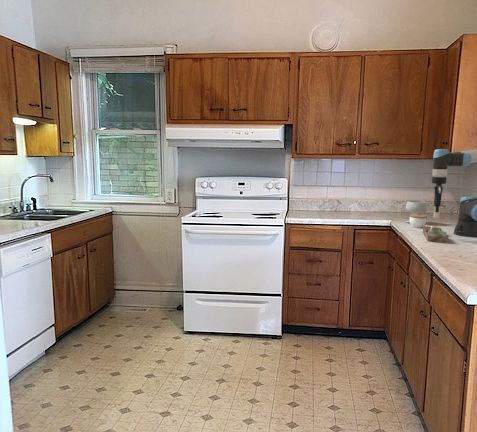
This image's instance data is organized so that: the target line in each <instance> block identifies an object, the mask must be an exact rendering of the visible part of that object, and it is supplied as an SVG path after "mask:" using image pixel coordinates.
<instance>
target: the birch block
mask: <svg viewBox="0 0 477 432" xmlns="http://www.w3.org/2000/svg"><path fill="white" fill-rule="evenodd" d="M430 228H431V231H440V229H441V230H442V228H441V226H437V225H430Z"/></svg>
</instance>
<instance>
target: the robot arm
mask: <svg viewBox="0 0 477 432" xmlns="http://www.w3.org/2000/svg"><path fill="white" fill-rule="evenodd" d="M433 151H434V152H433V157H432V159H433V161H432V170H431V173H432V177H431V183H432V184H434V185H435V186H434V187H433V190H434V200H433V207H434V208H433V219H434V218H435V219H436V218H438V219H439V218H440V210H441V209H440V208H441V203H442V197H443V196H442V195H443V189H444V188H443V185H445V184H447V179H448V178H447V177H448V167H469V166H470V165H471V164H472V163H473V164H474V163H477V149H471V150H470V149H469V150H462V151H454V152H453V151H452V152H450V151H449V149H444V148H443V149H442V148H440V149H439V148H438V149H434V150H433ZM453 234H454V235H458V236H460V237H461V236H462V237H469V238H470V237H471V238H477V196H461V198H460V200H459V208H458V219H457V223H456V225H455V226H454V229H453Z"/></svg>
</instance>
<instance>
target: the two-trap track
mask: <svg viewBox="0 0 477 432" xmlns="http://www.w3.org/2000/svg"><path fill="white" fill-rule="evenodd" d="M422 234H423V235H424V237H425V239H426V241H427V242H431V243H432V242H434V243H444V242H445V243H446V240H447V231H444V230H442V228H441V229H440V231H431V227H429V228H428V227H427V226H426V224H425V225H423V227H422Z"/></svg>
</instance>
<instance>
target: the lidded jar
mask: <svg viewBox="0 0 477 432" xmlns="http://www.w3.org/2000/svg"><path fill="white" fill-rule="evenodd" d="M409 220H410V223H409V224H410V225H411V226H412V228H416V227H417V228H418V229H419V228H420V229H421V228H422V229H423V225H425V226H426V224H427V220H428V215H425V214H420V215H419V213H418V214H411V213H410V214H409Z"/></svg>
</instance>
